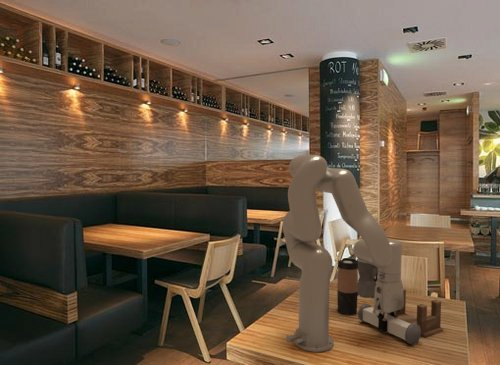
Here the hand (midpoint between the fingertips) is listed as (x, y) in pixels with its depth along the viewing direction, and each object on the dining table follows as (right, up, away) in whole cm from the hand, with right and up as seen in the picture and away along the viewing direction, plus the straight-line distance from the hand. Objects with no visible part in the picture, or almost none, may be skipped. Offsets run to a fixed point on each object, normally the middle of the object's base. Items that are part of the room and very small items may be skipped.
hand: (387, 328), depth 128 cm
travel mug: (-9, 0, +18) cm, 20 cm away
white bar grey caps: (0, -1, 0) cm, 1 cm away
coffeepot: (+5, 0, +37) cm, 37 cm away
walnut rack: (+11, -1, +6) cm, 12 cm away
